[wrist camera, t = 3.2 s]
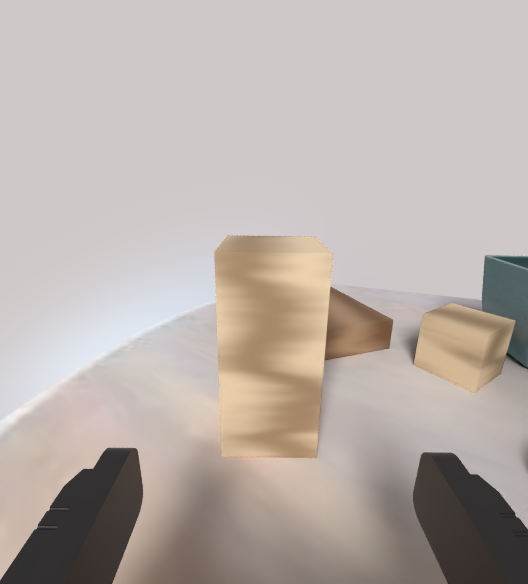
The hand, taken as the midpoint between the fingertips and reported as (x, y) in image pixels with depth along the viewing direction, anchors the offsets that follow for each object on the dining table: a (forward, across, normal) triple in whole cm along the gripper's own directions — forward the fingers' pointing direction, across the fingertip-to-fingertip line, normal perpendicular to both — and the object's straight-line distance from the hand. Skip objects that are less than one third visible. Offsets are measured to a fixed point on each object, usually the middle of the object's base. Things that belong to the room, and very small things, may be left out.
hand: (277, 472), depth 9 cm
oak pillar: (+10, 0, +7) cm, 13 cm away
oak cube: (+17, -17, +7) cm, 25 cm away
